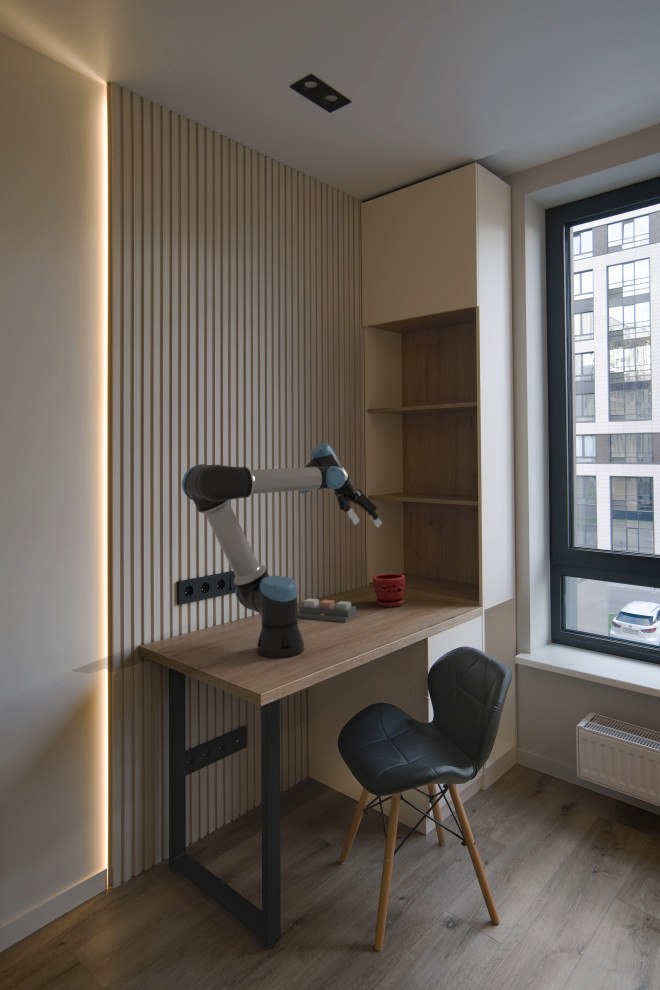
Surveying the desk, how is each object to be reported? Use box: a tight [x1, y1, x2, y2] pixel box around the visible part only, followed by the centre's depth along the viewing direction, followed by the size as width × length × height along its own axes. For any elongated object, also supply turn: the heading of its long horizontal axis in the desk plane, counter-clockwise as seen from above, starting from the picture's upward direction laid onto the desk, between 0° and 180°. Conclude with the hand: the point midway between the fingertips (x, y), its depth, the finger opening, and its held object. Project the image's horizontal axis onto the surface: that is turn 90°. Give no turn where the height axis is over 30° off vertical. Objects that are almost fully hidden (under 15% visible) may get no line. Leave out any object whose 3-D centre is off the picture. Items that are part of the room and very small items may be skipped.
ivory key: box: [303, 598, 320, 607], centre depth 242 cm, size 4×4×3 cm
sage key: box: [335, 600, 352, 610], centre depth 236 cm, size 4×4×3 cm
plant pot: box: [372, 573, 406, 608], centre depth 254 cm, size 13×13×12 cm
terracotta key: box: [319, 599, 336, 609], centre depth 239 cm, size 4×4×3 cm
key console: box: [297, 602, 357, 623], centre depth 238 cm, size 10×21×4 cm, turn 63°
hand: (368, 524), depth 234 cm, fingers open, 13 cm apart
